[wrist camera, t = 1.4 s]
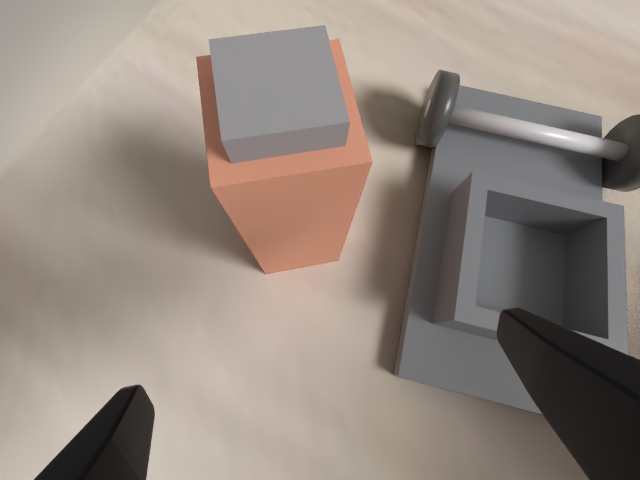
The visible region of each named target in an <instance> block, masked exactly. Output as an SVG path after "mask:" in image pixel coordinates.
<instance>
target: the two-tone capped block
mask: <svg viewBox="0 0 640 480" xmlns="http://www.w3.org/2000/svg"><path fill="white" fill-rule="evenodd" d="M209 46H210V54H211V55H207V56H199V57H196V59H197V68H198V78H199V87H200V96H201V105H202V114H203V123H204V132H205V142H206V151H207V160H208V169H209V178H210V187H211V189H212V191H213V192H214V194H215V196H216V197H217V199H218V200H219V202H220V203H221V205H222V206H223V208H224V210H225V211H226V213H227V214H228V216H229V217H230V219H231V221H232V222H233V224H234V225H235V227H236V228H237V230H238V232H239V233H240V235H241V236H242V238H243V239H244V241H245V243H246V244H247V246H248V247H249V249H250V250H251V252H252V254H253V255H254V257H255V258H256V260H257V261H258V263H259V265H260V266H261V268H262V269H263V271H264V272H265V274H268V273H273V272H279V271H284V270H290V269H295V268H301V267H306V266H311V265H317V264H322V263H328V262H333V261H338V260H339V257H340V254H341V251H342V248H343V245H344V242H345V239H346V237H347V234H348V231H349V228H350V225H351V222H352V219H353V216H354V214H355V211H356V208H357V205H358V202H359V199H360V196H361V193H362V190H363V188H364V185H365V182H366V179H367V176H368V173H369V170H370V167H371V164H372V159H371V155H370V151H369V148H368V144H367V140H366V137H365V133H364V129H363V126H362V122H361V118H360V114H359V111H358V107H357V103H356V100H355V96H354V92H353V89H352V85H351V81H350V77H349V74H348V70H347V66H346V63H345V59H344V55H343V52H342V48H341V44H340V41H339V39H334V40H329V39H328V35H327V31H326V27H325V25H324V26H315V27H307V28H299V29H291V30H283V31H274V32H266V33H258V34H250V35H242V36H234V37H225V38H217V39H209Z"/></svg>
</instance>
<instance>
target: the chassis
mask: <svg viewBox="0 0 640 480" xmlns="http://www.w3.org/2000/svg"><path fill="white" fill-rule="evenodd" d="M459 83H460V77H459V74H456V73H452V72H447V71H443V70H439V71H438V72H437V73H436V75H435V77H434V79H433V81H432V83H431V85H430V88H429V90H428V93H427V95H426V98H425V101H424V104H423V107H422V110H421V114H420V117H419V121H418V126H417V131H416V138H415V143H416V144H417V145H421V146H426V147H430V148H432V150H431V156H430V162H429V168H428V174H427V180H426V186H425V192H424V197H423V203H422V209H421V215H420V221H419V227H418V233H417V239H416V245H415V251H414V257H413V263H412V268H411V274H410V280H409V286H408V292H407V298H406V304H405V310H404V316H403V322H402V328H401V334H400V339H399V345H398V351H397V357H396V363H395V369H394V375H395V376H398V377H401V378H405V379H409V380H413V381H416V382H420V383H424V384H428V385H432V386H435V387H439V388H443V389H447V390H451V391H454V392H458V393H462V394H466V395H470V396H474V397H477V398H481V399H485V400H489V401H493V402H496V403H500V404H504V405H508V406H512V407H516V408H519V409H523V410H527V411H531V412H535V413H538V414H542V413H541V411H540V410H539V409H538V407H537V406H536V404H535V403H534V401H533V400H532V398H531V397H530V395H529V394H528V392H527V390H526V389H525V387H524V385H523V384H522V382H521V380H520V379H519V377H518V375H517V373H516V372H515V370H514V368H513V367H512V365H511V363H510V361H509V360H508V358H507V356H506V355H505V353H504V351H503V349H502V348H501V346H500V344H499V342H498V340H497V335H496V332H497V326H498V321H499V315H500V312H501V311H502V310H504V309H509V308H514V307H519V308H522V309H524V310H526V311H529V312H531V313H533V314H536V315H538V316H540V317H542V318H545V319H547V320H549V321H552V322H554V323H556V324H558V325H561V326H563V327H565V328H568V329H570V330H572V331H575V332H577V333H579V334H581V335H584V336H586V337H588V338H591V339H593V340H595V341H597V342H600V343H602V344H604V345H607V346H609V347H611V348H613V349H616V350H618V351H620V352H623V353H625V354H627V355H628V327H627V294H626V260H625V227H624V206H621V205H617V204H612V203H608V202H604V201H602V187H604V188H608V189H612V190H617V191H622V192H628V191H633V190H636V189H638V188H640V115H634V116H631V117H628V118H626V119H625V120H623V121H621V122H620V123H619V124H617V125H616V126H615V127H614V128H613V129H612V130H611V131H610V132H609V133H608V134H607V135H606V136H605V137H604V139H603V138H602V117H601V116H596V115H592V114H587V113H583V112H578V111H574V110H569V109H565V108H560V107H556V106H551V105H547V104H542V103H538V102H533V101H529V100H524V99H520V98H515V97H511V96H506V95H502V94H497V93H493V92H488V91H484V90H479V89H474V88H470V87H465V86H461V85H459ZM542 415H543V414H542Z"/></svg>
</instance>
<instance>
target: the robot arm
mask: <svg viewBox="0 0 640 480" xmlns="http://www.w3.org/2000/svg"><path fill="white" fill-rule="evenodd" d="M496 335H497V340H498V342H499V344H500V346H501V348H502V349H503V351H504V353H505V355H506V356H507V358H508V360H509V361H510V363H511V365H512V367H513V368H514V370H515V372H516V373H517V375H518V377H519V379H520V380H521V382H522V384H523V385H524V387H525V389H526V390H527V392H528V394H529V395H530V397H531V398H532V400H533V401H534V403H535V404H536V406H537V407H538V409H539V410H540V411H541V413H542V414H543V416H544V417H545V418H546V420H547V421H548V423H549V424H550V425H551V427H552V428H553V430H554V431H555V432H556V434H557V435H558V437H559V438H560V439H561V441H562V442H563V444H564V445H565V446H566V448H567V449H568V451H569V452H570V453H571V455H572V456H573V457H574V459H575V460H576V462H577V463H578V464H579V466H580V467H581V469H582V470H583V471H584V473H585V474H586V476H587V477H588V478H589V480H640V360H639V359H636V358H634V357H632V356H629V355H627V354H625V353H623V352H620V351H618V350H616V349H613V348H611V347H609V346H607V345H604V344H602V343H600V342H597V341H595V340H593V339H591V338H588V337H586V336H584V335H581V334H579V333H577V332H575V331H572V330H570V329H568V328H565V327H563V326H561V325H558V324H556V323H554V322H552V321H549V320H547V319H545V318H542V317H540V316H538V315H536V314H533V313H531V312H529V311H526V310H524V309H522V308H519V307H514V308H509V309H504V310H502V311H501V312H500V315H499V321H498V326H497V332H496ZM154 416H155V411H154V406H153V404H152V402H151V401H150V399H149V397H148V395H147V393H146V391H145V390H144V388H143V387H142V386H141V385H133V386H128V387H124V388H122V389H120V390H119V391H118V392H117V393H116V394H115V395H114V396H113V397H112V398H111V399H110V400H109V401H108V402H107V403H106V404H105V405H104V407H103V408H102V409H101V410H100V411H99V412H98V413H97V414H96V415H95V416H94V417H93V418H92V419H91V420H90V421H89V422H88V423H87V424H86V425H85V426H84V428H83V429H82V430H81V431H80V432H79V433H78V434H77V435H76V436H75V437H74V438H73V439H72V440H71V441H70V442H69V443H68V444H67V445H66V446H65V447H64V449H63V450H62V451H61V452H60V453H59V454H58V455H57V456H56V457H55V458H54V459H53V460H52V461H51V462H50V463H49V464H48V465H47V466H46V467H45V468H44V470H43V471H42V472H41V473H40V474H39V475H38V476H37V477H36V478H35V479H34V480H146V476H147V469H148V462H149V454H150V447H151V439H152V432H153V424H154Z"/></svg>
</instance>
